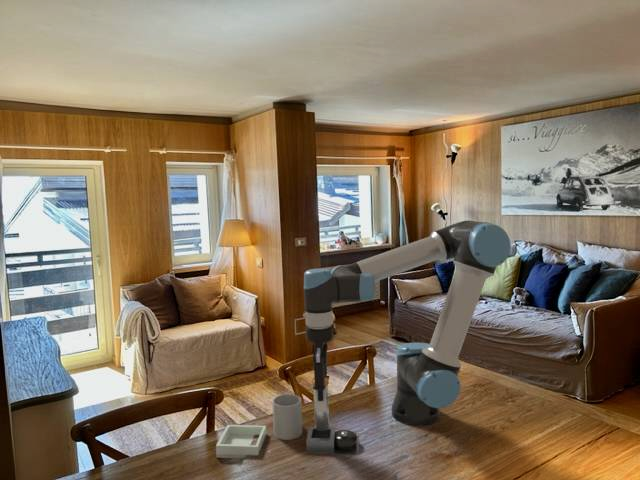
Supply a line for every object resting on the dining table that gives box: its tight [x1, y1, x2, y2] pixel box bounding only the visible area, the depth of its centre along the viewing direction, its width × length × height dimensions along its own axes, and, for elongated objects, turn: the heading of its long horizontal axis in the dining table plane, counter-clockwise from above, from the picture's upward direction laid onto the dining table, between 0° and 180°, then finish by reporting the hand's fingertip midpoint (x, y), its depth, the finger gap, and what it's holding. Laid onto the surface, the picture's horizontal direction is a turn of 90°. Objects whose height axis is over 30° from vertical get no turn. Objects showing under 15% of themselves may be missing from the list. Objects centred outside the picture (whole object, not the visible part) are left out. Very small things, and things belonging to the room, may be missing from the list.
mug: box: [272, 393, 303, 441], centre depth 143 cm, size 12×8×11 cm
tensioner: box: [305, 426, 360, 456], centre depth 135 cm, size 14×10×4 cm
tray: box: [215, 424, 267, 459], centre depth 136 cm, size 12×12×3 cm
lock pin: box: [311, 377, 330, 431], centre depth 134 cm, size 5×5×14 cm
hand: (322, 406), depth 134 cm, fingers closed on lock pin, 4 cm apart
